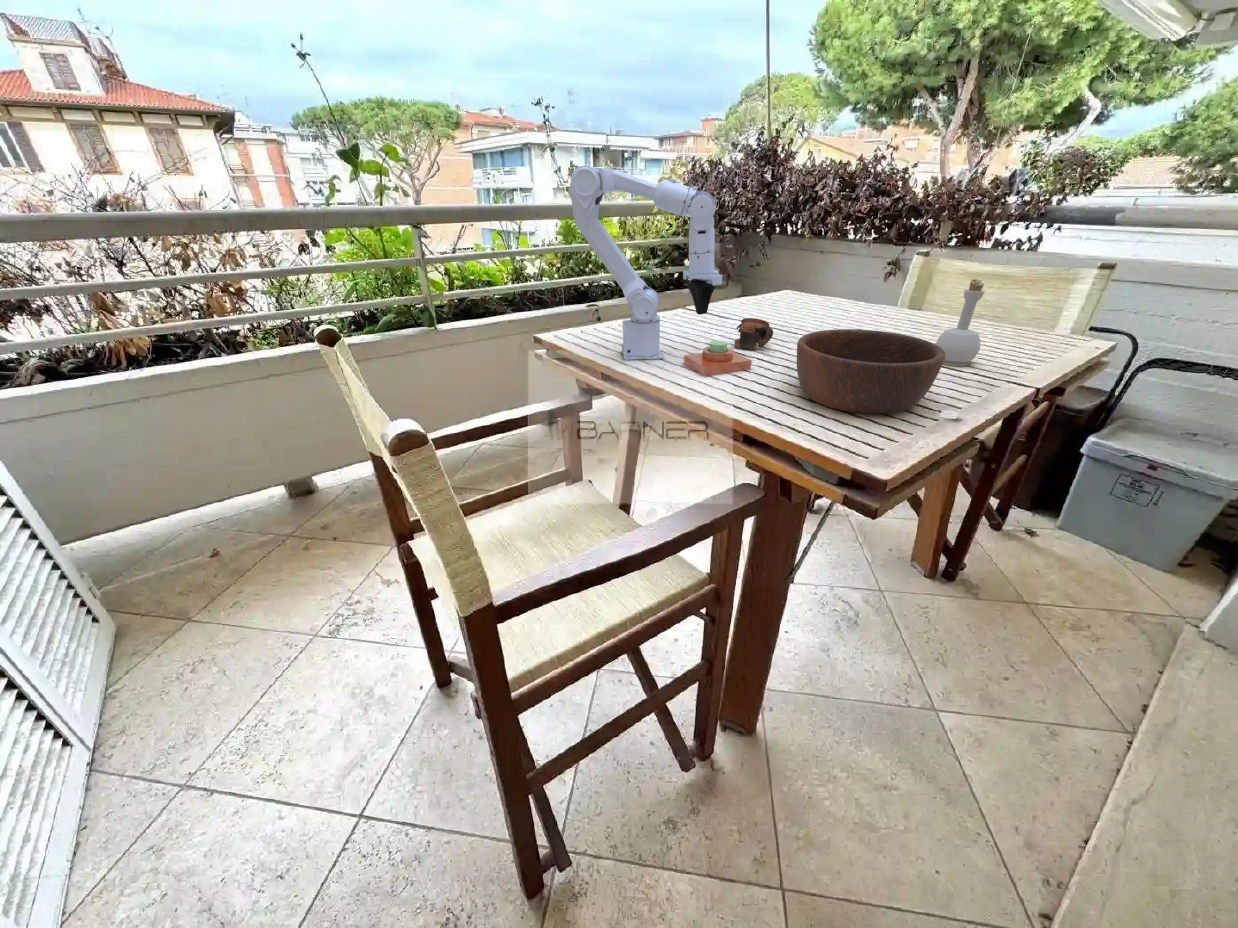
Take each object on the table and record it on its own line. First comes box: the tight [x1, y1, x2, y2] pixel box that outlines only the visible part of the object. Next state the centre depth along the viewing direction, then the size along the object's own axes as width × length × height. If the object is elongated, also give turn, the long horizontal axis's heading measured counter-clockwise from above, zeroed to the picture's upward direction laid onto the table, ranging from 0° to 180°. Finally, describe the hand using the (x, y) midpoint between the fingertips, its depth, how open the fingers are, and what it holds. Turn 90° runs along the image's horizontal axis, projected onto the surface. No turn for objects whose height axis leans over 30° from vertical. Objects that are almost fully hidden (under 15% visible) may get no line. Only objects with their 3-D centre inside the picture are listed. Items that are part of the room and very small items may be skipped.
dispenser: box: [683, 346, 752, 377], centre depth 112 cm, size 12×10×4 cm
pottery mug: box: [734, 317, 774, 351], centre depth 126 cm, size 12×10×8 cm
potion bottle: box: [934, 278, 986, 367], centre depth 108 cm, size 9×9×18 cm
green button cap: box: [708, 340, 728, 353], centre depth 111 cm, size 4×4×2 cm
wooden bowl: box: [796, 328, 945, 415], centre depth 92 cm, size 25×25×10 cm
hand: (701, 313), depth 116 cm, fingers closed
